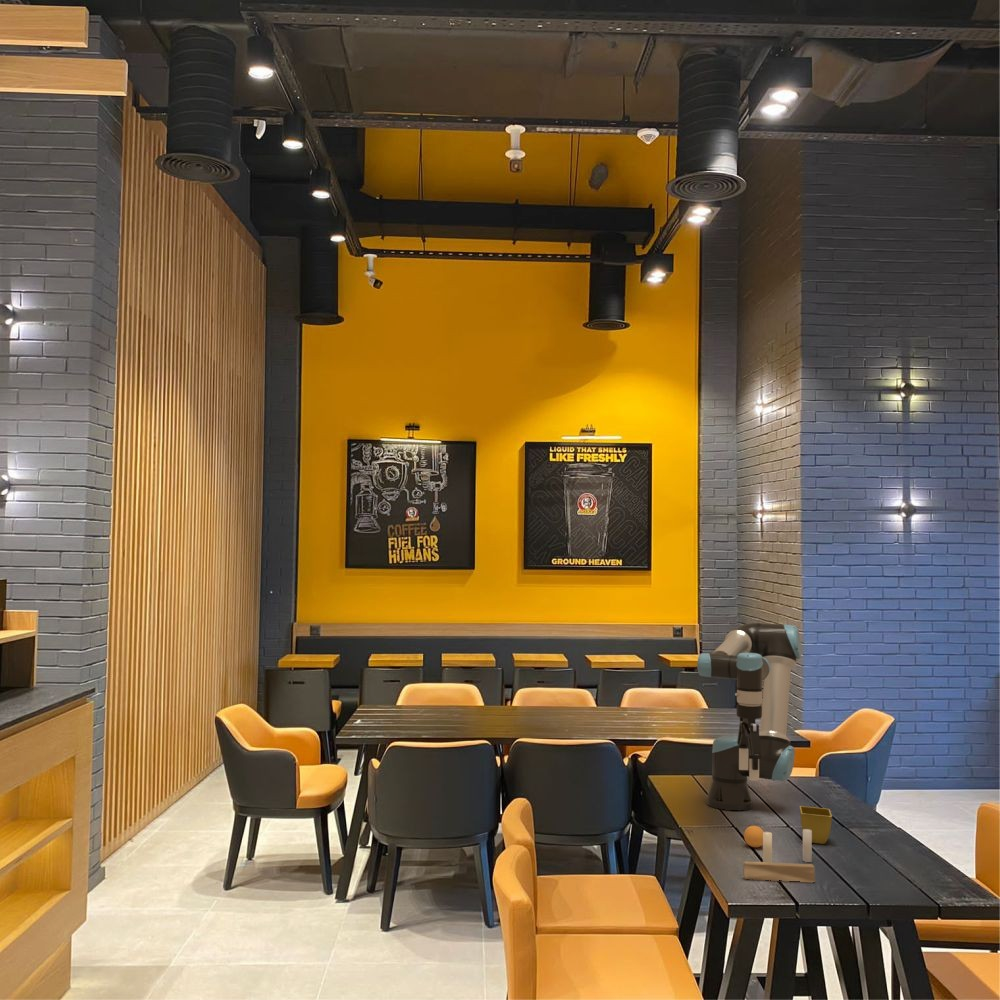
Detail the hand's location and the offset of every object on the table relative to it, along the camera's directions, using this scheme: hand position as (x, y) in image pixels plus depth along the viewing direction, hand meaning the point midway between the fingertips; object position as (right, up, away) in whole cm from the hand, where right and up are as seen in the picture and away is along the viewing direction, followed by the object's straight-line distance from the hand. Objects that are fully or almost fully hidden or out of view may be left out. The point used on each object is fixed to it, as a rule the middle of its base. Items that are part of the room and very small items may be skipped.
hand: (748, 775), depth 275 cm
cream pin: (-2, -17, -26) cm, 31 cm away
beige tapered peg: (+10, -17, -22) cm, 30 cm away
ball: (-1, -15, -11) cm, 18 cm away
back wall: (-3, -16, -38) cm, 41 cm away
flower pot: (+19, -19, -4) cm, 27 cm away
